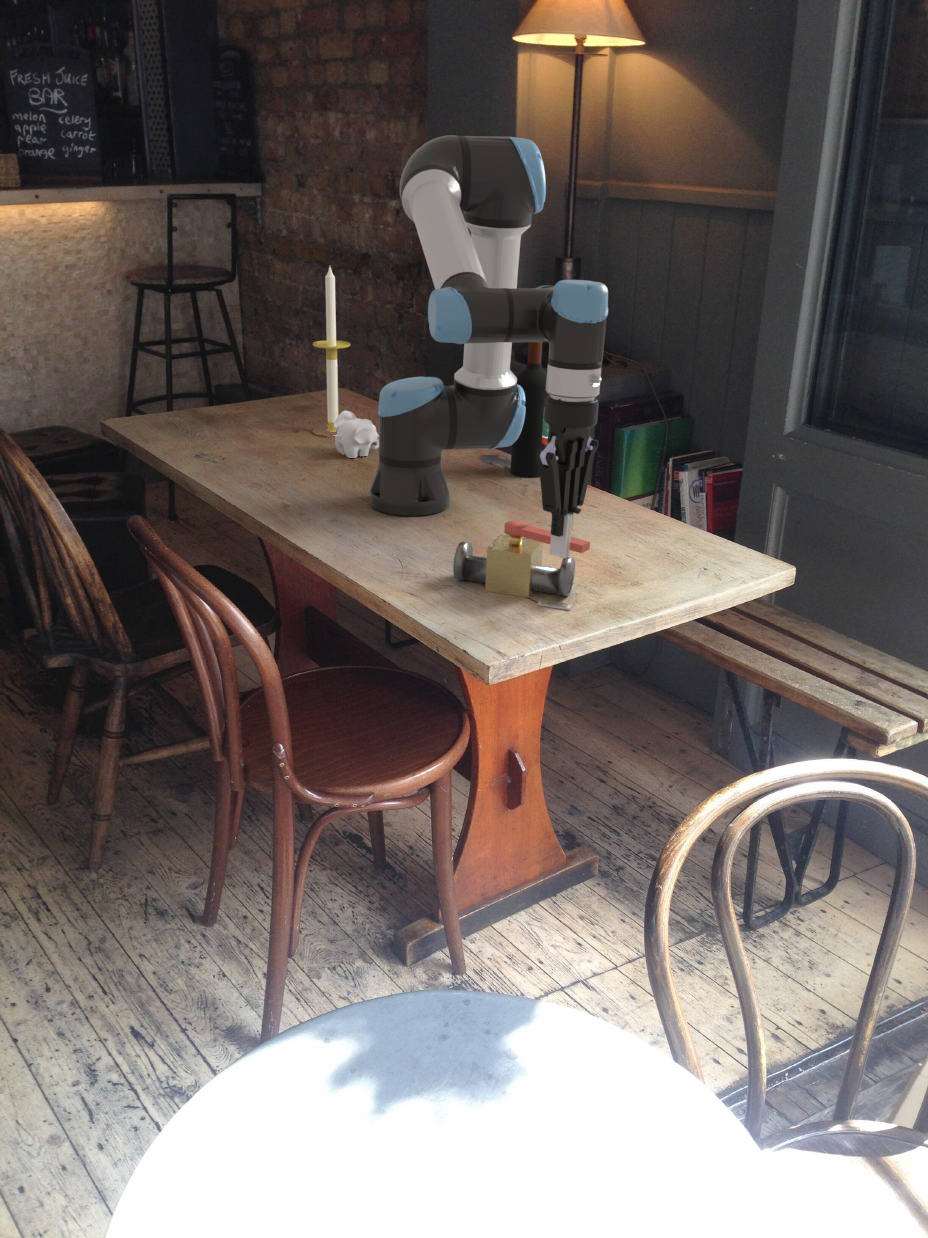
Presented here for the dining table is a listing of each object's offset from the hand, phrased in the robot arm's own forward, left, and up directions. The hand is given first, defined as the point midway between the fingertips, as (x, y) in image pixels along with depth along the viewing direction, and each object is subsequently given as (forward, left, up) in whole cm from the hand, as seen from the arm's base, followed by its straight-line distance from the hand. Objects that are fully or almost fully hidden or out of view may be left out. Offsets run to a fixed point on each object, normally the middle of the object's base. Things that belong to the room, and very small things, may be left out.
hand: (559, 554), depth 162 cm
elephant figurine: (-61, +64, -8) cm, 89 cm away
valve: (-7, +3, -8) cm, 11 cm away
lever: (-3, +3, +1) cm, 4 cm away
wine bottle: (-23, +66, -8) cm, 71 cm away
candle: (-74, +79, -8) cm, 109 cm away
